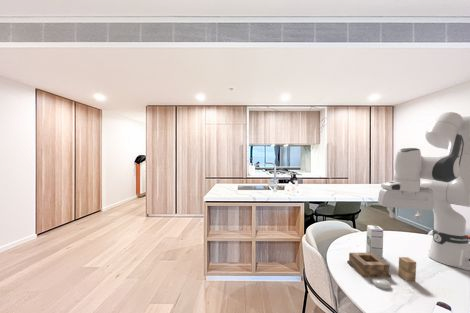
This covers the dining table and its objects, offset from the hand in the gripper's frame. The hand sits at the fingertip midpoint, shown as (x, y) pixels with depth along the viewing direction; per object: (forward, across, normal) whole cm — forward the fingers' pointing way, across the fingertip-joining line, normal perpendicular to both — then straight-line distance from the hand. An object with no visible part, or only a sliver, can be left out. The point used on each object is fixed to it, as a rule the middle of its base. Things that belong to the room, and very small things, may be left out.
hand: (404, 218), depth 94 cm
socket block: (+25, +12, -3) cm, 28 cm away
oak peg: (+24, -1, +2) cm, 25 cm away
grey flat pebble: (+25, +12, +9) cm, 29 cm away
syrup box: (+24, +2, -18) cm, 30 cm away
